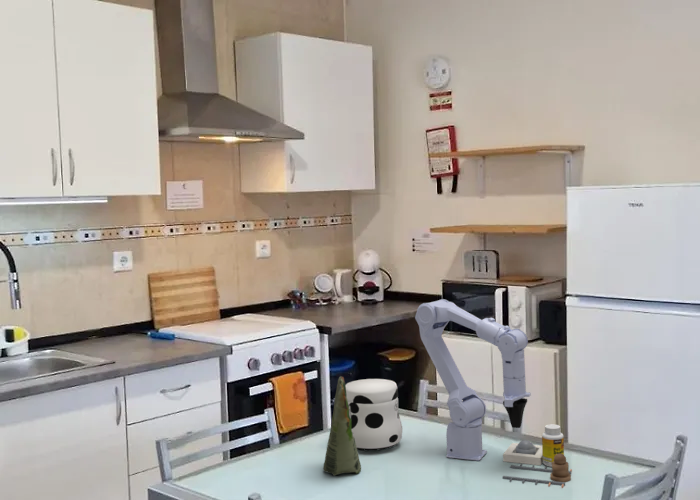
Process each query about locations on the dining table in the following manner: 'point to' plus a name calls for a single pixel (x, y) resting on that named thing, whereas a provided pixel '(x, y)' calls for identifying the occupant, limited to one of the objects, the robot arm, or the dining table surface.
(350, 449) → the green tall cone
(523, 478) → the track
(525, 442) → the dome
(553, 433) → the supplement bottle
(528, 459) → the housing
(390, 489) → the dining table surface
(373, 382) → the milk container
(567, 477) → the pawn
